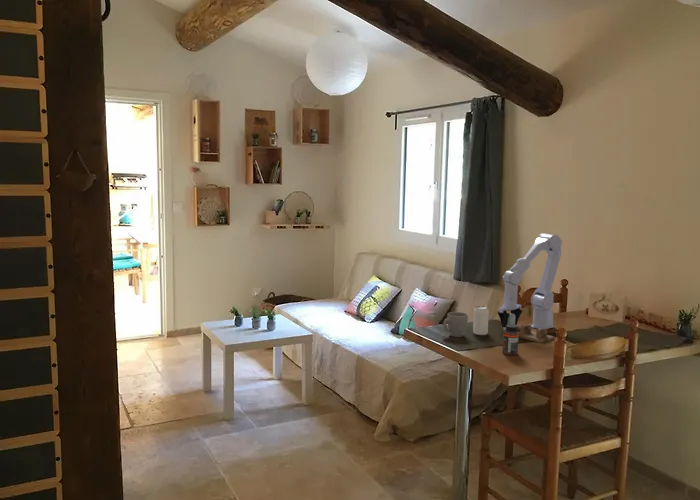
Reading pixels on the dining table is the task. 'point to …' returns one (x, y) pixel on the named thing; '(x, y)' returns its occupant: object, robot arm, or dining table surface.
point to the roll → (511, 320)
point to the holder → (534, 334)
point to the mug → (456, 323)
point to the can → (480, 320)
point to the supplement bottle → (510, 340)
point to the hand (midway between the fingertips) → (509, 325)
